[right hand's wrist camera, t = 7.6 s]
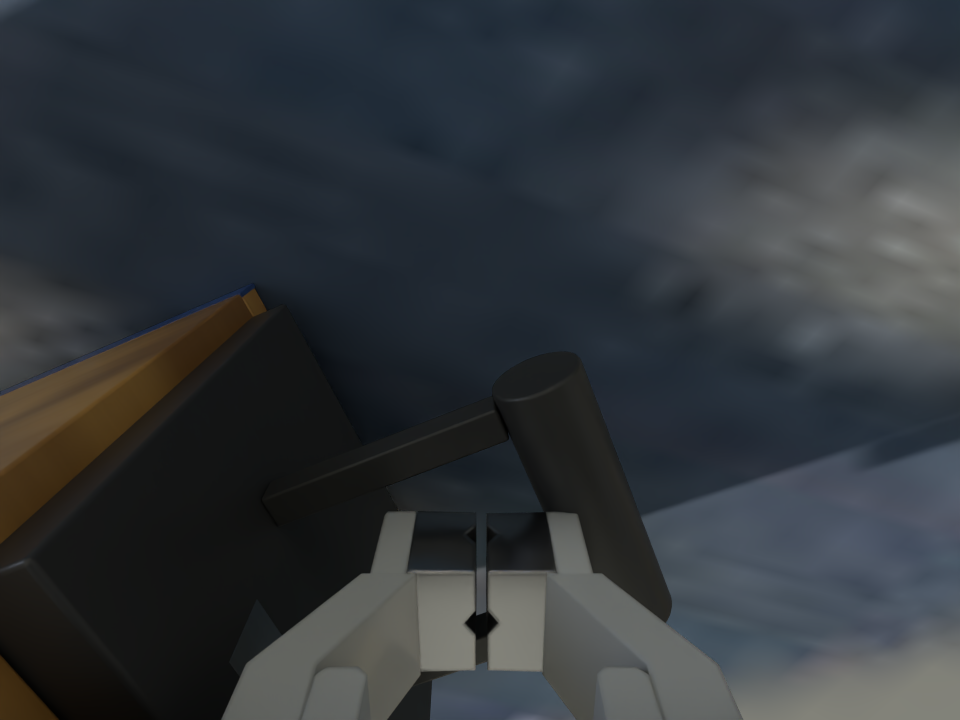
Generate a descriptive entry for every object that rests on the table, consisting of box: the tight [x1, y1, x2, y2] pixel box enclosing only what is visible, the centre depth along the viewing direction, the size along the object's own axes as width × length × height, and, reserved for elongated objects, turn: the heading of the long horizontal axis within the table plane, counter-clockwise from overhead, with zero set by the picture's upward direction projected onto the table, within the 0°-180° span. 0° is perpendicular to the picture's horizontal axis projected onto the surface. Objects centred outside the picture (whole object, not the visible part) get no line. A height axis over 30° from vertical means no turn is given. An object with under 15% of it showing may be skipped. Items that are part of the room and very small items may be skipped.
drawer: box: [0, 305, 672, 720], centre depth 12 cm, size 22×9×9 cm, turn 112°
